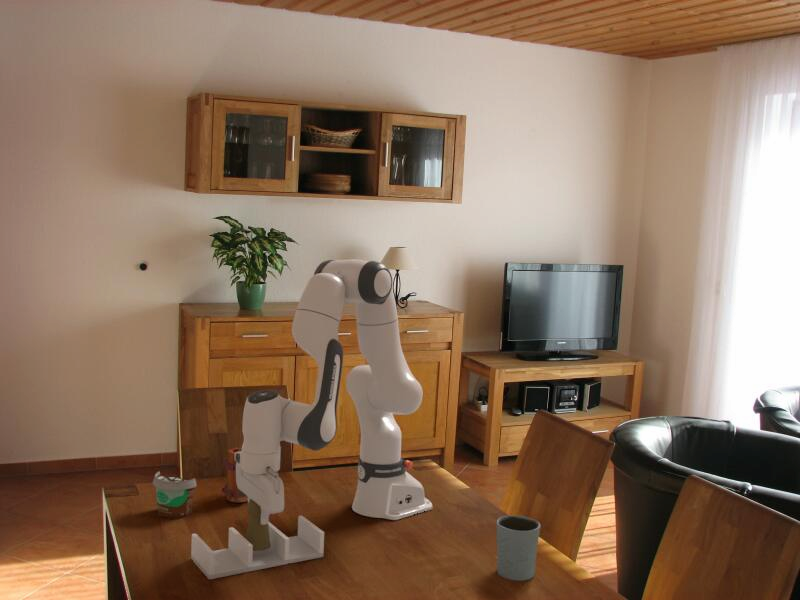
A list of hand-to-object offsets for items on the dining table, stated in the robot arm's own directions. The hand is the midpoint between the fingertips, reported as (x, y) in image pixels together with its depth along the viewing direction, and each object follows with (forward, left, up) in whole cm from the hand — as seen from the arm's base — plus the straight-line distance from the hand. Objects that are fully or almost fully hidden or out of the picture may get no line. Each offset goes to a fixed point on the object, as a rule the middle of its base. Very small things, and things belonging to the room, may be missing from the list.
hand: (258, 519), depth 203 cm
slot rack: (0, 0, -9) cm, 9 cm away
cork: (0, 0, -7) cm, 7 cm away
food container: (+10, -35, -10) cm, 38 cm away
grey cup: (-50, +33, -10) cm, 61 cm away
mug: (-12, -40, -10) cm, 43 cm away
